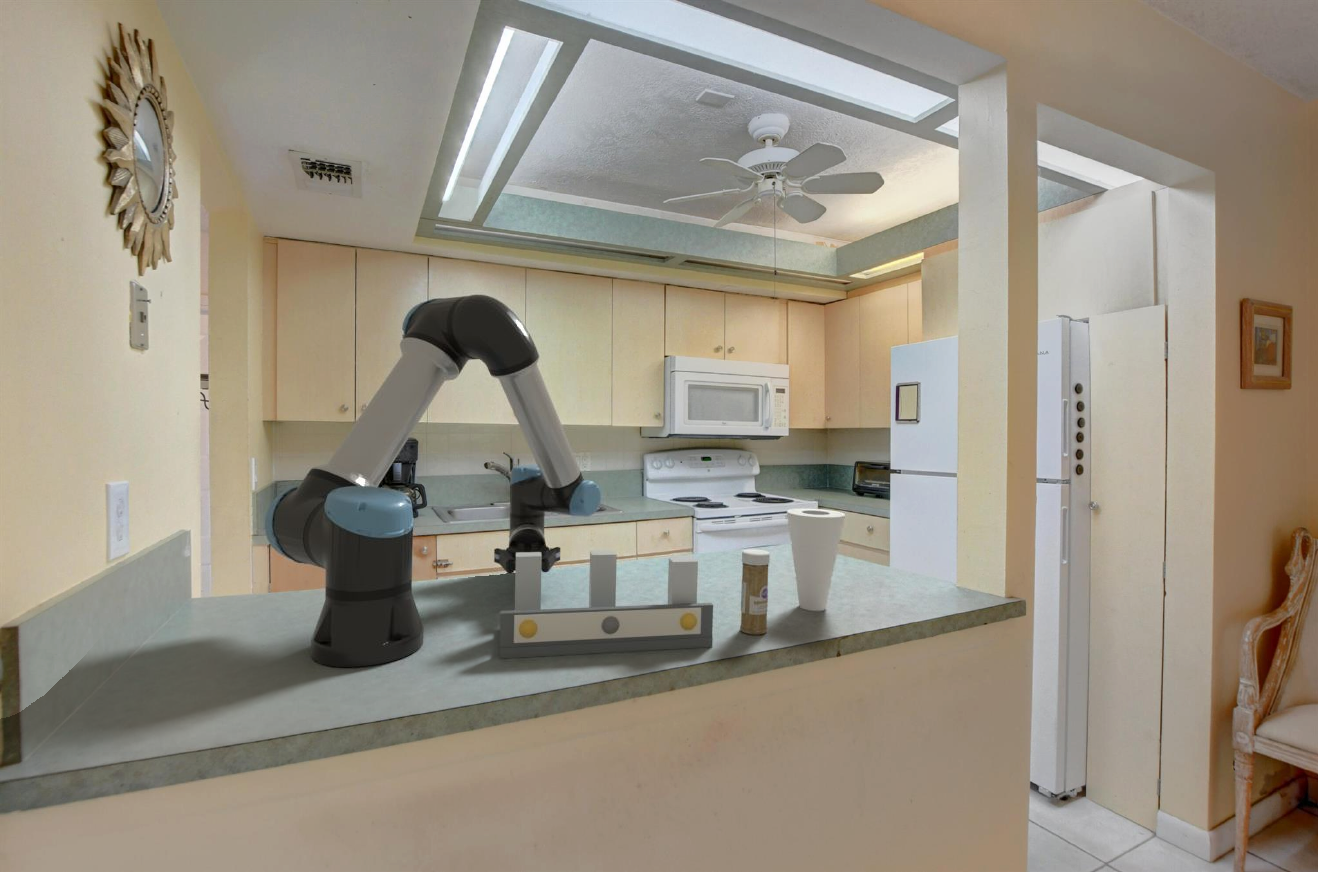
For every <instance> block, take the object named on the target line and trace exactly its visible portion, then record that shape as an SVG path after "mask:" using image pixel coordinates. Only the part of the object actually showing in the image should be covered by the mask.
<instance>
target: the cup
mask: <svg viewBox="0 0 1318 872" xmlns="http://www.w3.org/2000/svg"><path fill="white" fill-rule="evenodd" d="M786 514H787V523H788V529H789V537H790V541H791V553H792V560H793V567H794V573H795V581H796V591H797V597H798V598H797V599H798V605H799V608H801V609H803V610H805V611H809V612H810V611H812V612H822V611H824V610H825V611H826V607H827V604H828V603H827V602H828V597H829V594H830V589H831V584H832V583H831V582H832V577H833V573H834V570H835V569H834V568H835V566H836V565H835V564H836V559H837V555H838V550H839V544H840V540H841V537H842V532H843V526H844V522H845V516H846V514H845V512H844V513H843V512H841V511H838V510H831V509H821V508H803V507H802V508H790V509H788V510H786Z"/></svg>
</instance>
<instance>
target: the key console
mask: <svg viewBox="0 0 1318 872" xmlns="http://www.w3.org/2000/svg"><path fill="white" fill-rule="evenodd" d="M499 612H500V613H499V650H498V651H499V658H498V659H500V660H501V659H515V658H517V659H518V658H519V659H520V658H533V657H534V658H536V657H553V656H555V657H556V656H571V655H591V654H604V653H605V654H606V653H607V654H608V653H626V652H629V653H630V652H641V651H643V652H645V651H663V650H679V649H680V650H683V649H697V648H699V649H700V648H701V649H702V648H713V626H714V625H713V619H714V618H713V617H714V604H713V603H712V602H697V603H690V604H668V603H666V604H647V605H646V604H644V605H643V604H642V605H619V606H618V605H617V606H616V605H615V606H614V607H589V606H588V607H571V608H568V607H567V608H544V609H542V608H541V609H538V610H515V609H514V610H500V611H499Z"/></svg>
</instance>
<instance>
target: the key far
mask: <svg viewBox="0 0 1318 872" xmlns="http://www.w3.org/2000/svg"><path fill="white" fill-rule="evenodd" d="M698 565H699V561H698V560H697V559H695V558H694V557H693V556H690V557H689V556H688V557H687V556H686V557H668V575H667V579H668V581H667V604H690V603H698V571H699V570H698V569H699V566H698Z"/></svg>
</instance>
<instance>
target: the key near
mask: <svg viewBox="0 0 1318 872" xmlns="http://www.w3.org/2000/svg"><path fill="white" fill-rule="evenodd" d="M541 564H542V555H541V552H519V553H516V571H514V574H515V577H514V578H515V579H514V580H515V582H514V583H515V584H514V585H515V586H514V587H515V588H514V610H538V609H542V607H541V604H542V598H541V597H542V570H541Z"/></svg>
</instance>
